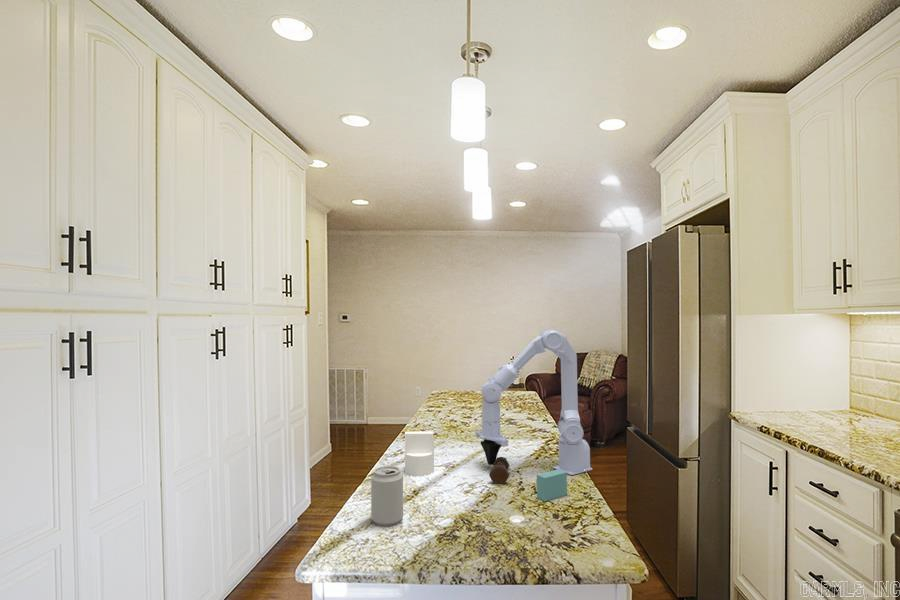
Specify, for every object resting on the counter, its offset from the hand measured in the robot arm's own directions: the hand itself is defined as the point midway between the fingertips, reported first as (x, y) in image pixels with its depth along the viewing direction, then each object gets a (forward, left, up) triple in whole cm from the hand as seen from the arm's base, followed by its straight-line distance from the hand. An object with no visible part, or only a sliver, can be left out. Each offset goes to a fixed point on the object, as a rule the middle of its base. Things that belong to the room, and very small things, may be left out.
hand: (491, 464), depth 147 cm
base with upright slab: (+20, -11, -2) cm, 23 cm away
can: (+43, +15, -2) cm, 46 cm away
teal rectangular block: (0, +25, -1) cm, 25 cm away
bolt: (+1, +6, -2) cm, 7 cm away
